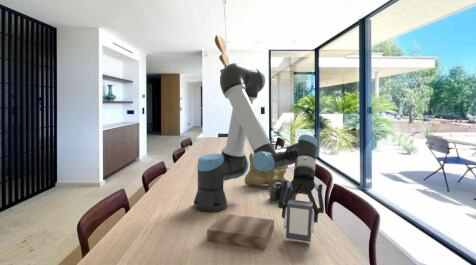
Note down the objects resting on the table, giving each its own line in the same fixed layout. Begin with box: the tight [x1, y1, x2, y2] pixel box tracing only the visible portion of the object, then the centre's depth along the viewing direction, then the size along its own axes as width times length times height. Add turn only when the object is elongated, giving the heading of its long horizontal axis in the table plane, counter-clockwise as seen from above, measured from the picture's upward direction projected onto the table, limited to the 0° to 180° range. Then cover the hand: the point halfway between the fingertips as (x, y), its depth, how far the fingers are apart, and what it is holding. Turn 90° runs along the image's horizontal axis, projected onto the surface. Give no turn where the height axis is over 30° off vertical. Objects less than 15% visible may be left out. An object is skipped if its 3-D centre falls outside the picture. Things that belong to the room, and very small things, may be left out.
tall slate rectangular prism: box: [285, 199, 314, 243], centre depth 103 cm, size 8×5×12 cm, turn 73°
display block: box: [206, 213, 275, 250], centre depth 108 cm, size 20×16×4 cm
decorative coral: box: [244, 152, 289, 187], centre depth 175 cm, size 26×22×25 cm
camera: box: [269, 179, 297, 202], centre depth 149 cm, size 13×10×10 cm
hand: (298, 229), depth 100 cm, fingers closed on tall slate rectangular prism, 8 cm apart
